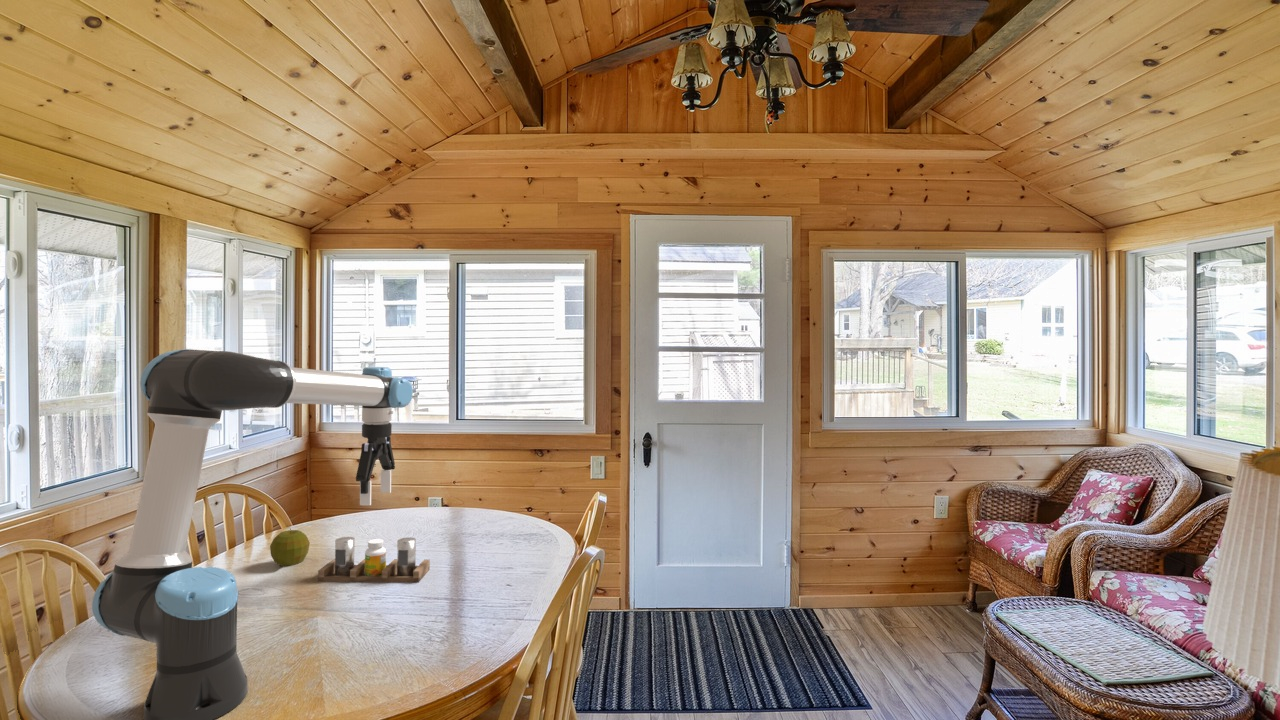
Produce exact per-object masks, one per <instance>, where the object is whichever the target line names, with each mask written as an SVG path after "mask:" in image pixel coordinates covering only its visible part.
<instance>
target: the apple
mask: <svg viewBox="0 0 1280 720" xmlns="http://www.w3.org/2000/svg"><path fill="white" fill-rule="evenodd" d="M310 543H311V542H310V540H309V538H308V535H307V534H305V533H304V532H302V531H301V530H298V529H291V528H289V530H284V531H280V533H278V534H277V535H276V536H275V537H274V538H273V539H272V541H271V544H270V545H269V549H270V557H271V558H272V559H273V562H274V563H275V564H276V565H278V566H281V567H285V566H286V567H287V566H288V567H289V566H294V565H297V564H300V563H301V562H303V561H304V560H305V559H306V557H307V555H308V553H309V550H310V549H309V548H310Z"/></svg>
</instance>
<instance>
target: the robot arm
mask: <svg viewBox="0 0 1280 720" xmlns="http://www.w3.org/2000/svg"><path fill="white" fill-rule="evenodd" d="M392 373H393V372H392V369H391V368H390V367H387V366H367V367H365V366H364V367H363V369H362V373H361V374H360V373H359V374H358V373H349V372H340V371H330V370H323V369H321V370H319V369H312V368H303V367H302V368H300V367H292V366H290V365H289V364H288V363H287V362H285V361H282V360H273V359H267V358H262V357H257V356H252V355H248V354H244V353H238V352H234V351H233V352H232V351H229V350H227V351H225V350H205V349H204V350H203V349H188V348H185V349H178V350H177V349H176V350H170V351H166V352H163V353H161V354H158V356H156V357H154V358H153V359H152V360H150V361H149V362H148V363H147V365H146V366H145V367H144V369H143V370H142V373H141V377H140V390H141V393H142V394H143V395H144V396H145V398H146V400H147V401H149V403H148V409H147V413H146V415H147V416H148V417H149V418H150V419H151V421H152V422H153V423H154V428H153V433H152V436H151V442H150V447H149V452H148V456H147V462H146V465H145V471H144V475H143V480H142V485H141V490H140V495H139V500H138V504H137V508H136V513H135V517H134V522H133V528H132V533H131V537H130V542H129V546H128V551H127V552H126V553H125V554H123V556H121V557H119V558H118V559H117V560H116V561H115V563H114V567H113V571H112V572H110V573H109V574H108V575H107V576H106V579H104V580H102V581H101V582H100V583H99V584H98V586H97V588H96V589H95V592H94V594H93V597H92V603H91V604H92V605H91V609H92V610H91V611H92V614H93V617H94V618H95V620H96V622H97V623H98V624H99V626H101V627H103V628H104V629H106V630H108V631H111V632H112V633H113V634H116V635H117V636H118V635H119V636H124V637H125V636H126V637H130V638H135V639H139V640H141V641H145V642H150V643H154V644H155V645H156V670H155V675H154V678H153V680H152V683H151V686H150V688H149V690H148V694H147V696H146V699H145V701H144V704H143V709H142V710H143V718H142V719H143V720H216V719H218V718H219V717H222V716H224V715H226V714H228V713H229V712H231V711H232V710H234V709H235V708H236V707H238V706H239V705H240V704H241V703H242V702H243V701H244V700H245V699H246V697H247V695H248V688H249V687H248V685H249V683H248V681H249V680H248V676H247V675H246V673H245V670H244V668H243V665H242V663H241V660H240V658H239V655H238V652H237V650H238V649H237V647H238V646H237V642H238V641H237V638H238V637H237V636H238V635H237V633H238V632H237V629H238V626H237V625H238V599H239V592H238V586H237V579H236V577H235V576H234V574H233V573H231V572H230V571H229V570H226V569H225V568H220V567H216V566H215V567H214V566H207V567H202V566H195V567H193V561H194V559H193V557H192V556H191V555H190V554H189V553H188V552H187V550H186V548H187V544H188V539H189V533H190V528H191V523H192V517H193V513H194V507H195V502H196V497H197V493H198V487H199V483H200V477H201V473H202V472H201V470H202V466H203V462H204V457H205V456H204V455H205V451H206V446H207V442H208V435H209V431H210V428H211V427H213V426H214V425H215V424H217V423H219V422H220V421H221V417H222V411H236V410H237V411H238V410H247V409H259V408H262V409H263V408H268V409H269V408H271V409H272V408H273V409H274V408H276V409H277V408H280V407H283V406H284V405H286V404H297V405H298V404H299V405H300V404H301V405H326V406H327V405H331V406H343V407H344V406H356V407H357V406H358V407H360V406H361V421H362V422H363V423H362V425H361V436H362V437H363V438H364V439H365V438H366V439H367V443H366V442H365V443H363V442H362V443H361V453H360V457H359V462H358V465H357V471H356V475H355V481H356V482H359V506H366V507H367V506H372V480H370V479H371V478H372V474H373V471H374V468H375V464H376V461H377V460H378V461H379V464H380V465H381V468H382V469H381V470H380V494H391V493H392V470H395V469H396V465H395V464H396V463H395V458H394V453H393V448H392V440H391V439H392V438H391V436H392V429H393V428H392V423H391V421H392V415H393V414H394V411H393V410H392V409H393V408H394V409H396V408H405V407H406V406H408V405H409V404H410V403H411V401H412V399H413V396H414V395H413V394H414V393H413V392H414V389H413V385H412V383H411V382H410V380H408V379H406V378H404V377H403V378H402V377H393V374H392Z"/></svg>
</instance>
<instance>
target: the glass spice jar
mask: <svg viewBox="0 0 1280 720" xmlns="http://www.w3.org/2000/svg"><path fill="white" fill-rule="evenodd" d="M416 542H417V540H416V538H415V537H403V538H399V539H397V541H396V543H397V544H396V545H397V547H396V548H397V551H396V559H397V576H413V571H414V570H415V566H417V564H416V563H417V562H416V559H417V557H416V555H417V553H416V551H417V549H416V547H417V545H416V544H417V543H416Z"/></svg>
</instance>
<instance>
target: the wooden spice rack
mask: <svg viewBox="0 0 1280 720" xmlns="http://www.w3.org/2000/svg"><path fill="white" fill-rule="evenodd" d="M430 562H431V561H430V559H429V558H428V559H423V560H422V561H421V562H420V564H419V565H416V566H415V570H414V571H413V576H397V558H394V559H393V560H392V561H391V562H390V563H389V564H386V568H384V569H383V570H382V576H365V558H364V559H362V560H361V561H360V562H359V563H358V564H354V568H353V569H352V570H350V576H335V558H333V559H331V561H329V562H328V563H326V564H325V565H324V566H322V567H321V568H320V569H318V570H317V575H318V578H317V581H318V583H321V582H322V583H323V582H324V583H326V582H327V583H329V582H330V583H333V582H334V583H346V582H347V583H420V582H421V581H422V579H423V578H424V577H425V576H426V575H427V574H428V573H429V572H430V570H431V569H430Z"/></svg>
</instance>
